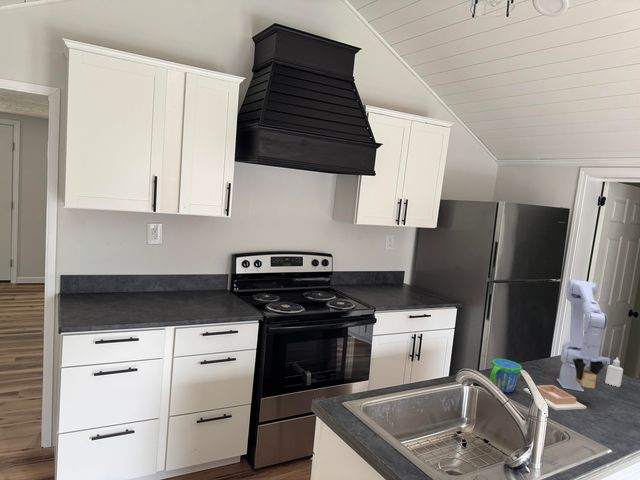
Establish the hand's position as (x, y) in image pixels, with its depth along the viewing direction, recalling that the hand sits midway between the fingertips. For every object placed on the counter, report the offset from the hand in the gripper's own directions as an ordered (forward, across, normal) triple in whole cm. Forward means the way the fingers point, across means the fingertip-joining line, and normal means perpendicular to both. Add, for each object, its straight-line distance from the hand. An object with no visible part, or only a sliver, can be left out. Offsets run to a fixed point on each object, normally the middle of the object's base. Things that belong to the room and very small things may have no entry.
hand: (585, 379), depth 171 cm
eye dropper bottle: (+9, +25, +24) cm, 36 cm away
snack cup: (+9, -28, +4) cm, 29 cm away
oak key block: (+2, 0, 0) cm, 2 cm away
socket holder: (+9, -10, 0) cm, 14 cm away
